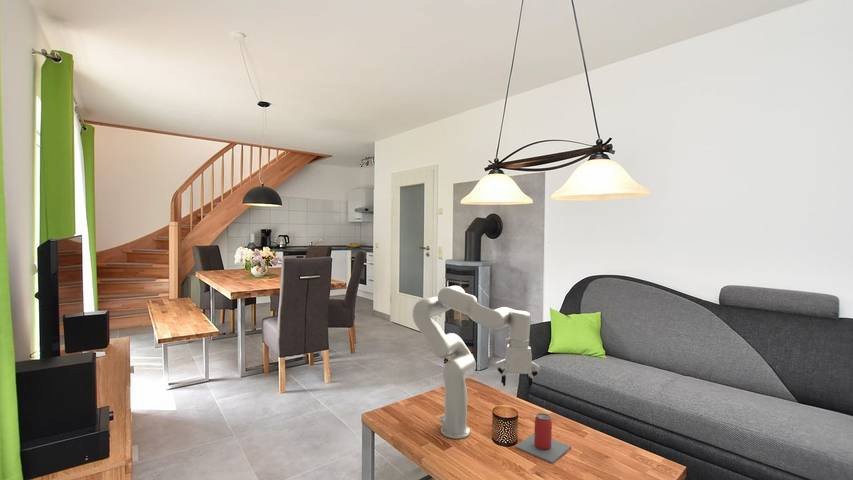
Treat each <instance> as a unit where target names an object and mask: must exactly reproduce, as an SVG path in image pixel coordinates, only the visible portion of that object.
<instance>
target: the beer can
mask: <svg viewBox="0 0 853 480" xmlns="http://www.w3.org/2000/svg"><path fill="white" fill-rule="evenodd" d="M551 417H552V416H550V415H549V414H547V413H541V412H540V413H537V414H536V415H535V418H534V444H535V446H536V447H537V448H539V449H543V450H547V449H550V448H551V441H552V439H553V438H552V433H553V430H552V429H553V427H552V426H553V422H552V419H551Z"/></svg>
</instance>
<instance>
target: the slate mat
mask: <svg viewBox="0 0 853 480" xmlns="http://www.w3.org/2000/svg"><path fill="white" fill-rule="evenodd" d="M534 433H535V432H534ZM534 433H532V434H530V435H529V436H528V437H526V438H525V439H523V440H522V441H520V442H519V443H517V444H516V445H515V446H514V448H515V449H517V450H520V451H521V452H525V453H526V454H528V455H532V456H534V457H536V458H538V459H541V460H543V461H545V462H548V463H550V464H554V463H556V462H557V461H558V460H559V459H560V458H562V456H563V455H565V454H566V453H567V452H568V451H569V450H571V449H572V446H571V445H569V444H566V443H564V442H562V441H559V440H557V439H553V438H552V441H551V448H550V449H547V450H543V449H539V448H537V447H536V446H535V444H534Z"/></svg>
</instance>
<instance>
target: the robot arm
mask: <svg viewBox="0 0 853 480" xmlns="http://www.w3.org/2000/svg"><path fill="white" fill-rule="evenodd" d="M465 291H466V290H464V289H463V287H461V286H459V285H451V286H446V287H443V288H441V289H440V290H439V292H438V293H437V295H435V296H431V297H427V298H422V299H420V300H418V302H416V303H415V305H414V306H413V310H412V319H413V322H414V324H415V326H416V327H417V329H418V330H419V331H420V333H421V334H422V336H423V337H424V339H425V341H426V342H427V344H428V346H429V347H430V349H431V350H432V352H433V354H434V355H435V356H436V357H437V358H438V359H440V360H444V359H448V358H450V357H451V359H449V360H448V361H446V362H445V364H444V366H443V369H442V373H443V381H444V415H443V414H441V415H440V416H439V419H438V422H439V423H441V424H442V425H441V427H440V433H441V435H442V436H444V437H447V438H449V439H454V440H455V439H458V440H460V439H464V438H468V437H469V436H470V435H471V429H470V427H469V426H468V425H467V423H468V421H467V419H468V418H467V417H468V410H467V409H468V389H467V384H466V378H468V377H469V376H471V375H472V374H473V373H475V370H476V369H477V362H476V359H475V357H474V355H473V353H471V351H470V349H469V348H468V347H467V345H466V344H465V342H464V340H463V339H462V338H461V337H460V336H459V335H458V334H456V333H454V332H449V333H445V332H444V330H443V329H442V327H441V326H440V324H439V323H438V322H437V321H436V320H435V319H433V318H432V317H435V316H438V315H441V314H443V313H446V312H447V311H449V310H453V311H455V312H459V313H461V314H463V315H467V316H468V317H469V318H470V320H472V321H473V322H474V323H476V324H478V325H480V326H483V327H486V328H488V329H492V330H501V329H503V328H505V327H508V326H509V337H508V338H505V343H506V344H507V343H508V344H507V346H506V348H505V349H506V350H505V355H504V359H501V360H498V361H495V364H494V365H495V368H496V370H497V371H498V372H499V373H500V375H501V381H500V383H501V384H502V385H503V387H505V386H506V382H507V381H506V380H507V376H506V374H507V373H509V374H510V373H511V374H521V375H528V376H527V388H528V389H531V386H533V379H534V377H535V376H537V375H538V373H539V372H540V371H541V366H540V365H539V364H536V363H535V362H534V361H533V359H532V358H533V357H532V348H531V346H530V333H531V331H530V330H531V314H530V312H529V311H526V310H516V309H513V308H510V307H508V306H502V307H498V308H496V309H492V308H490V307H486V306H484V305H482V304H480V303H478V298H477V297H476V296H475V295H473V294H470V293H466V292H465ZM501 365H503V366H504V367H503V368H501ZM532 367H533V368H535V369H534V370H533V369H532ZM532 370H533V371H532Z"/></svg>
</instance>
